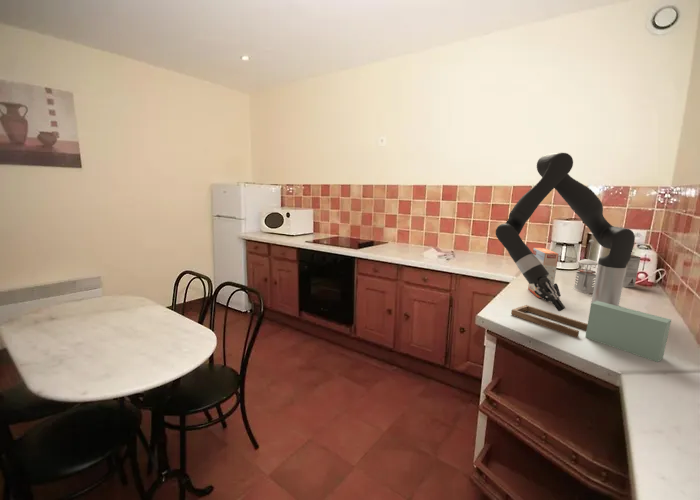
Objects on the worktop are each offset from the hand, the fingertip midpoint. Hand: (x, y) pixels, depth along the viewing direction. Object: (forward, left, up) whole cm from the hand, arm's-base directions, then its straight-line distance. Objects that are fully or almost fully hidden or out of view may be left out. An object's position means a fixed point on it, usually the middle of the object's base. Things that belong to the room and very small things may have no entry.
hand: (562, 310), depth 114 cm
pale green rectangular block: (0, +18, -6) cm, 19 cm away
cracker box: (-31, -23, -6) cm, 39 cm away
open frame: (0, -4, -6) cm, 7 cm away
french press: (-57, -15, -6) cm, 59 cm away
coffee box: (-87, -9, -6) cm, 88 cm away
